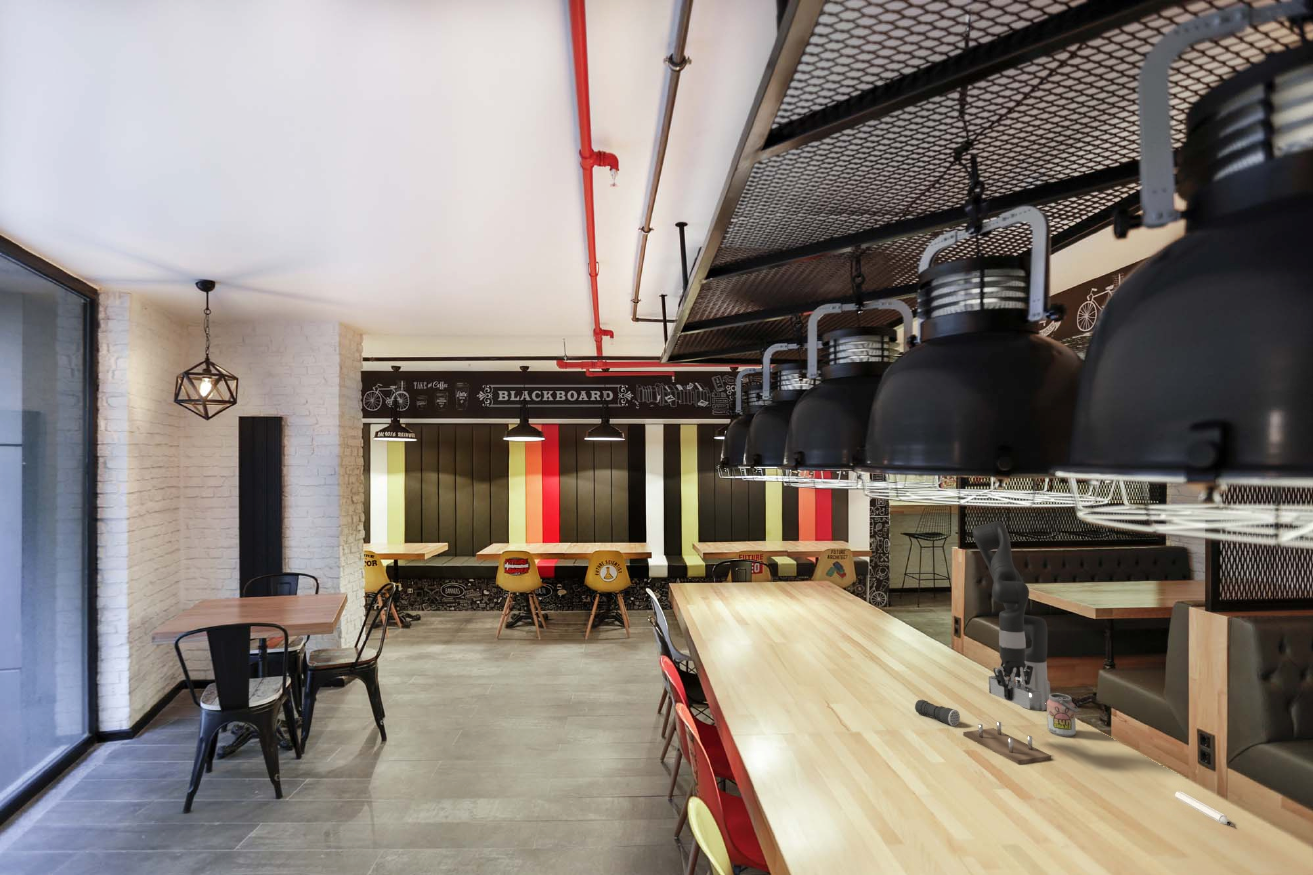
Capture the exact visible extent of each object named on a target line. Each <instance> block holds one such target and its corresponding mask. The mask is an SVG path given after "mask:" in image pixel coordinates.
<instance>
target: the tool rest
mask: <svg viewBox="0 0 1313 875" xmlns="http://www.w3.org/2000/svg"><path fill="white" fill-rule="evenodd" d="M996 725H997V726H996V727H997V728H994V727H992V728H991V727H990V728H985V729H984V725H983V724H982V723H978V729H975V730H969V731H963V732H962V735H963V737H965V738H967V739H969V740H970V741H973V742H974V743H976V742H977V744H978V745H980V746H982V747H984V748H986V749H988V750H990V751H992V752H994V753H996V754H997V755H999V754H1000V755H999V756H1001V755H1002V757H1003V758H1005V759H1008V761H1011V762H1014V763H1015V764H1017V765H1022V764H1023V765H1024V764H1030V763H1036V762H1037V763H1038V762H1043V761H1050V760H1052V755H1050V754H1049V753H1047V752H1046V751H1045V752H1044V751H1043V750H1040V749H1038V748H1037V747H1034V746H1033V736H1032V735H1027V743H1026V742H1023V741H1021V740H1019V739H1017V738H1015V737H1013V736H1011V735H1009V734H1007V733H1005V732H1003V731H1002V722H1001V721H997V722H996Z"/></svg>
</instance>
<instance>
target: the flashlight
mask: <svg viewBox="0 0 1313 875" xmlns="http://www.w3.org/2000/svg"><path fill="white" fill-rule="evenodd" d="M914 709H915V711H916V713H917V714H919V715H922V716H924V717H925V716H926V717H930V718H934V719H936V720H938V721H940V722H943V723H944V724H946V725H948V726H952V727H956V726H958V725H959V723H960V721H961V715H960V712H959V710H957V709H954V708H950V707H946V706H941V705H935V704H933V703H931V702H929V701H927V700H925V699H918V700H917V701H915V706H914Z"/></svg>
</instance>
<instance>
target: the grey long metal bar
mask: <svg viewBox="0 0 1313 875" xmlns="http://www.w3.org/2000/svg"><path fill="white" fill-rule="evenodd" d="M1007 684H1008V681H1007ZM1011 689H1012V701H1008V700H1006V699H1005V697H1004V687H1002V686H999V685H998V683H997V680H996V677H995V675H990V676H988V693H989V694H990V695H993V696H995V697H998V698H1000V699H1003V700H1005V701H1007V702H1010V703H1013V704H1015V705H1018V706H1020V707H1022V708H1024V707H1025V709H1027V710H1030V711H1035V712H1041V711H1044V710H1043V708H1042V692H1040V691H1037V690H1034V689H1031V688H1029V687H1026V686H1023V685H1020V684H1018V683H1016V681H1014V682H1012V686H1011Z"/></svg>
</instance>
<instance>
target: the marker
mask: <svg viewBox="0 0 1313 875" xmlns="http://www.w3.org/2000/svg"><path fill="white" fill-rule="evenodd" d="M1174 797H1175V799H1176V800H1178V801H1180V802H1181V803H1184V804H1185V805H1187V806H1189V807H1191V808H1193V809H1194V810H1196V811H1197V812H1200V813H1201V814H1203V815H1205V816H1206V817H1208V818H1210V819H1212V820H1215V821H1216V822H1218V823H1220V824H1223V825H1228V826H1232V827H1233V826H1234V824H1232V823H1231V822H1230V820H1229V819H1228V817H1227V816H1226V815H1225V814H1223V813H1222V812H1220V811H1218V810H1216V809H1214V808H1213V807H1210V806H1209V805H1207V804H1205V803H1203V802H1201V801H1199V800H1197V799H1196V798H1194V797H1192V796H1190V795H1188V794H1186V793H1185V792H1183V791H1182V790H1181V791H1180V790H1179V791H1176V792H1175V794H1174Z"/></svg>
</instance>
